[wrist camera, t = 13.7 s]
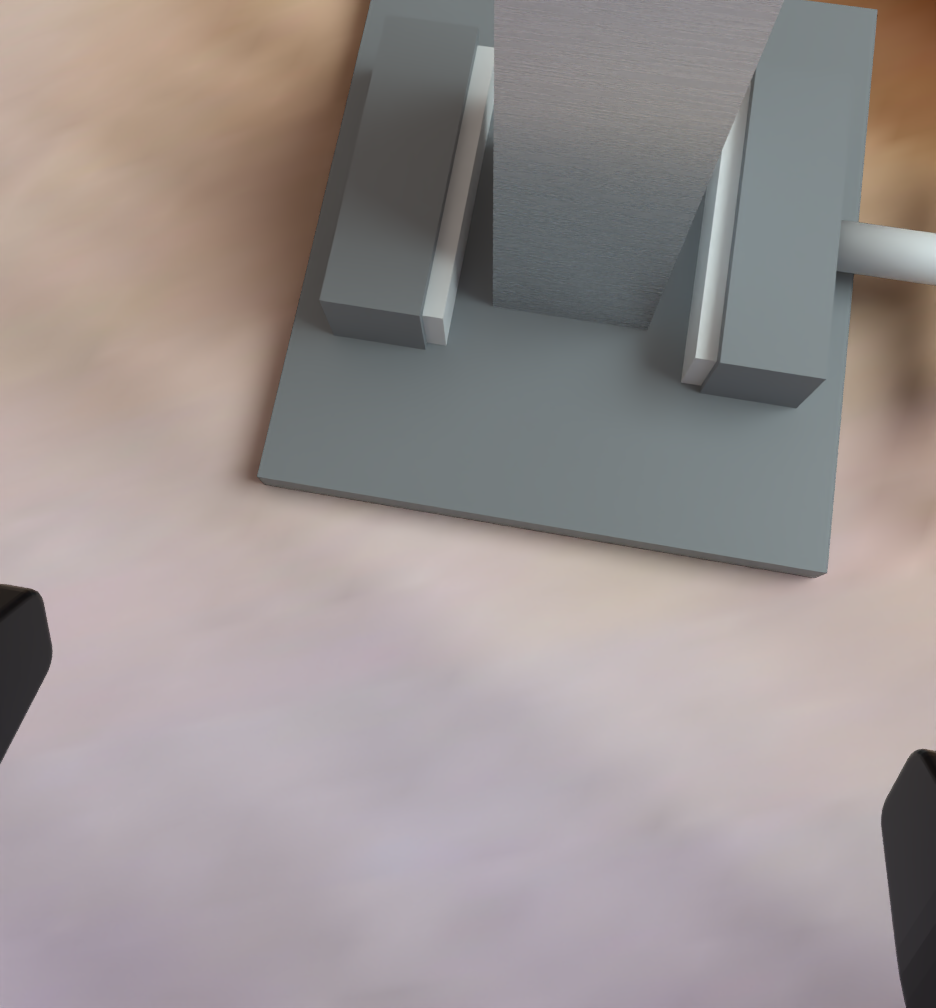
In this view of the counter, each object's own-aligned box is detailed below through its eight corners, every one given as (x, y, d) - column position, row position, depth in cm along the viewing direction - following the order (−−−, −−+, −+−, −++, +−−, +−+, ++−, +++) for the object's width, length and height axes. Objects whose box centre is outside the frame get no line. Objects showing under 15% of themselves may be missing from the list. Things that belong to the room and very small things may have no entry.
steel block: (647, 330, 23) (815, -78, 11) (492, 306, 23) (495, -117, 11) (672, 158, 24) (849, -379, 12) (524, 138, 24) (556, -410, 12)
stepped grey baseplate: (967, 603, 22) (1036, 588, 19) (264, 484, 23) (233, 454, 20) (997, 48, 25) (1059, -33, 22) (387, -32, 26) (374, -118, 23)
